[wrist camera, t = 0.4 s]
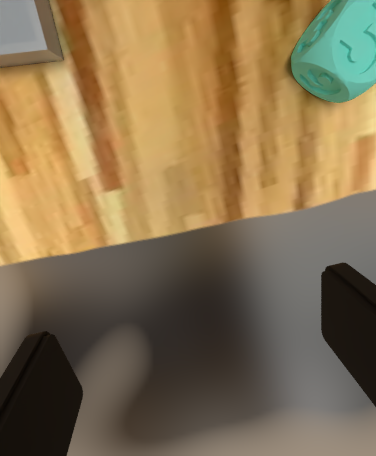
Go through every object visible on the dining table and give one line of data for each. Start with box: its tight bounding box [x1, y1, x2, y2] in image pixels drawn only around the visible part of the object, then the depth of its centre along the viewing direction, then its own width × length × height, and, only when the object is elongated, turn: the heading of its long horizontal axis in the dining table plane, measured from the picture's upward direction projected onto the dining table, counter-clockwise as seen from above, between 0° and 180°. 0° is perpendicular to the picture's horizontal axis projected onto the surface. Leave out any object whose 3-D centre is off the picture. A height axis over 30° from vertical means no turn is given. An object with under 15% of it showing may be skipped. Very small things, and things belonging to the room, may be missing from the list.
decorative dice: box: [291, 0, 376, 103], centre depth 30 cm, size 8×8×8 cm
